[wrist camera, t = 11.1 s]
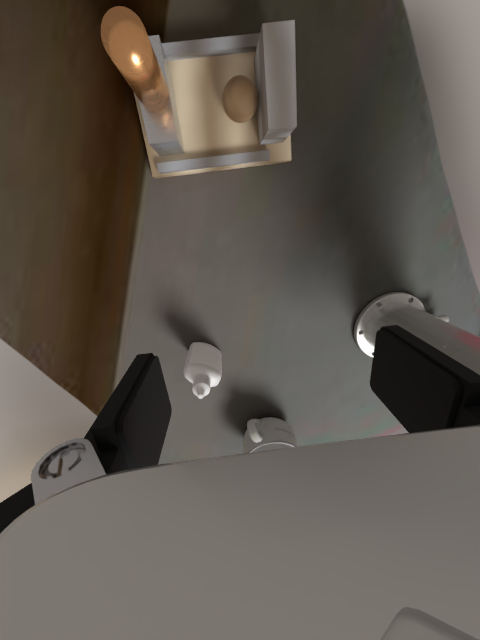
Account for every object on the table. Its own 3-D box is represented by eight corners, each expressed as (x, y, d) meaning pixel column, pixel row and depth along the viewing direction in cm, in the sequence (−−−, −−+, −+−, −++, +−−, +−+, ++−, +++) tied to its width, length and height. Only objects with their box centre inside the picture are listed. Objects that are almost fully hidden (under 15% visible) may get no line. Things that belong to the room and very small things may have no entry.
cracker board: (284, 42, 29) (305, -13, 22) (288, 162, 33) (306, 147, 27) (129, 59, 28) (100, 7, 21) (155, 178, 33) (138, 168, 26)
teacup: (296, 439, 54) (308, 474, 46) (249, 453, 54) (254, 490, 47) (280, 390, 48) (291, 421, 41) (228, 407, 49) (229, 441, 42)
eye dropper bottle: (204, 333, 42) (199, 374, 31) (224, 354, 44) (226, 400, 33) (184, 347, 43) (173, 392, 32) (206, 368, 45) (202, 417, 34)
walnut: (250, 85, 29) (261, 66, 25) (253, 127, 31) (264, 114, 27) (217, 86, 28) (223, 67, 25) (222, 129, 30) (228, 116, 26)
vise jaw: (169, 68, 28) (129, -55, 15) (184, 153, 31) (161, 109, 18) (142, 71, 27) (79, -50, 15) (160, 156, 31) (120, 114, 18)
